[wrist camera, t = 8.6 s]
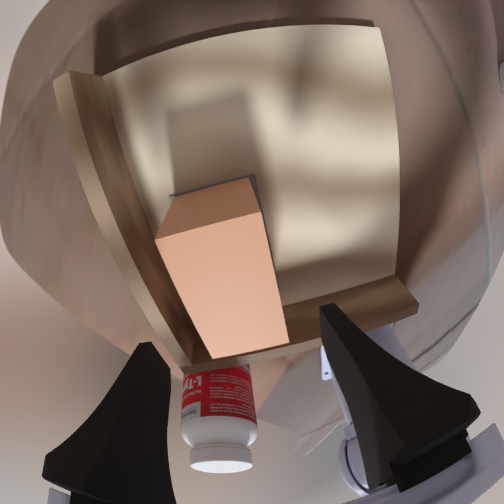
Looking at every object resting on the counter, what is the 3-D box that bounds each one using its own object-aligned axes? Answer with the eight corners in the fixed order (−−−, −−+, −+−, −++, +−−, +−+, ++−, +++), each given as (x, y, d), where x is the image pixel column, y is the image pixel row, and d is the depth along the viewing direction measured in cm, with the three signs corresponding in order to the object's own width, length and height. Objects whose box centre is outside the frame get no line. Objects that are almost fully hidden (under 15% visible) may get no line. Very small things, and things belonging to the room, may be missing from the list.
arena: (389, 278, 22) (416, 313, 18) (188, 328, 22) (184, 374, 18) (373, 30, 12) (416, 16, 7) (93, 83, 12) (52, 80, 8)
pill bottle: (193, 333, 22) (188, 454, 13) (258, 346, 24) (277, 458, 15) (179, 371, 25) (174, 471, 16) (236, 381, 27) (245, 476, 17)
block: (174, 197, 15) (154, 239, 11) (248, 177, 15) (260, 211, 11) (213, 299, 20) (212, 359, 15) (273, 285, 19) (289, 342, 15)
